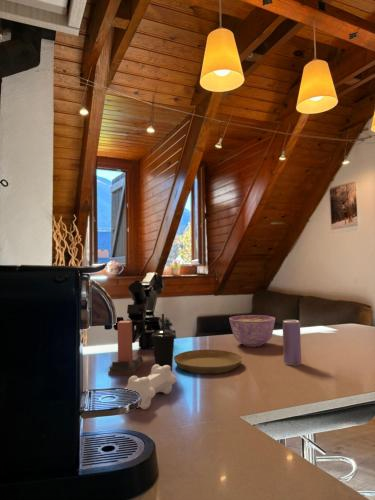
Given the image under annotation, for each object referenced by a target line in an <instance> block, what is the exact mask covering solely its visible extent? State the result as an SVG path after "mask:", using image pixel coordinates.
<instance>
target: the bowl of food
mask: <svg viewBox="0 0 375 500" xmlns="http://www.w3.org/2000/svg"><path fill="white" fill-rule="evenodd" d="M228 319H229V324H230V329H231V332H232V335H233V338H234V339H235V340H236V341H237V342H239V343H240V344H243V346H245V347H253V348H255V347H256V346H257V347H261V345H262V346H263V345H264V344H266V343H267V342H269V341H270V340H271V338H273V337H272V336H273V332H274V327H275V322H276V317H274V316H270V315H261V314H260V315H259V314H244V315H234V316H230V317H229V318H228ZM257 347H256V348H257Z"/></svg>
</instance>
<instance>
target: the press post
mask: <svg viewBox="0 0 375 500" xmlns="http://www.w3.org/2000/svg"><path fill="white" fill-rule="evenodd" d="M133 353H134V351H133V343H132V321H127V320H124V321H120V322H118V330H117V360H118V361H129V366H130V365H131V363H133V362H134V360H133V359H134V358H133V356H134V355H133Z"/></svg>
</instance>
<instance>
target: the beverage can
mask: <svg viewBox="0 0 375 500" xmlns="http://www.w3.org/2000/svg"><path fill="white" fill-rule="evenodd" d="M301 339H302V337H301V323H300V320H298V319H284V320H282V346H283V349H282V350H283V362H284V364H285V365H287V366H291V367H292V366H300V365H301V364H302V344H301V343H302V340H301Z"/></svg>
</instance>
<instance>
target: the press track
mask: <svg viewBox="0 0 375 500" xmlns="http://www.w3.org/2000/svg"><path fill="white" fill-rule="evenodd" d="M133 360H134V362H133V363H131V365H130V366H129V361H118V359H117V360H115V361H114V360H113V361H112V363H111V364H112V365H110V366H109V371H108V372H107V375H108V376H109V375H110V376H111V375H113V376H117V375H119V376H123V375H124V376H133V375H134V373H135V372H136V371H137V370H138V369H139V368H140V367H141V365H142V364H143V363H144V359H143V355H141V354H140V355H139V356H137V357H136V358H133Z"/></svg>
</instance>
